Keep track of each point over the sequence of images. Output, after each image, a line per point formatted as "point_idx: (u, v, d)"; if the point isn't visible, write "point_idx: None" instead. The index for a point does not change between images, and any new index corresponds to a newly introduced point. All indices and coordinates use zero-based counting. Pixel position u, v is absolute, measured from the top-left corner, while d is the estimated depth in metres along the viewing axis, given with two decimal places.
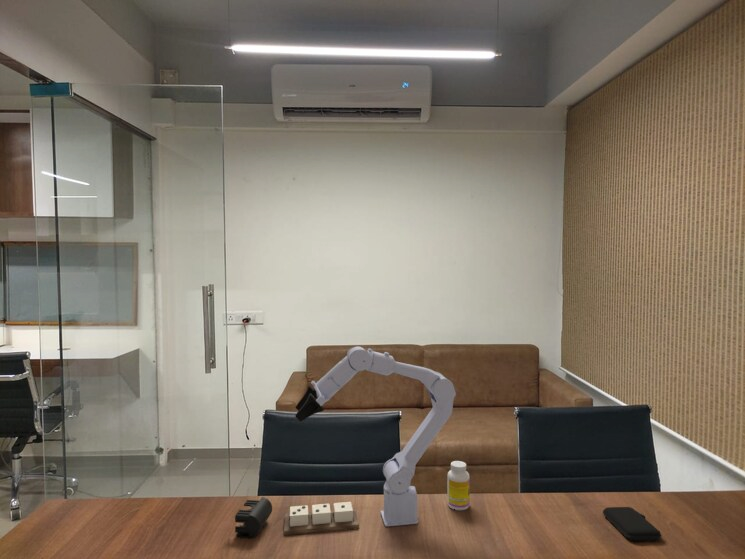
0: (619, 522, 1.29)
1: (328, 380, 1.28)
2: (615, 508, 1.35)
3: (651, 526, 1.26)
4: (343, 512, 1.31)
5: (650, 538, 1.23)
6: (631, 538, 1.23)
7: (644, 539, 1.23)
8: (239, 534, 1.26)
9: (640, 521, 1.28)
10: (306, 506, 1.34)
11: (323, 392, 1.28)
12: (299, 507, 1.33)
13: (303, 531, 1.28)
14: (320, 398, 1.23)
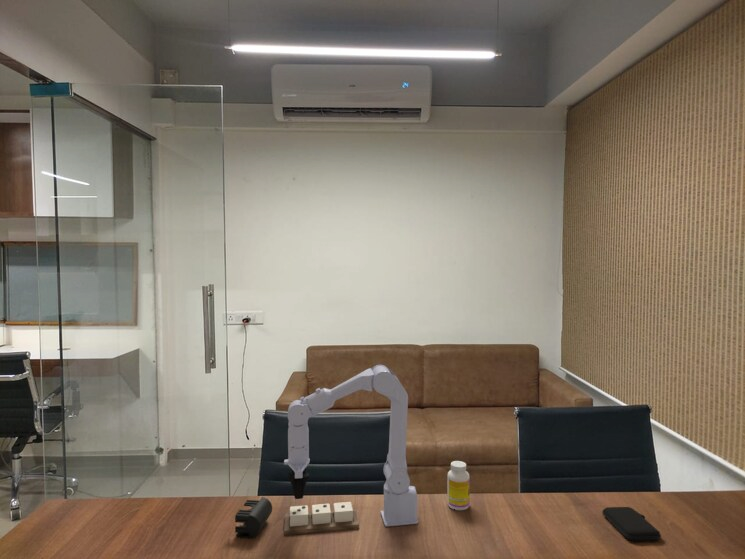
0: (618, 522, 1.29)
1: (292, 451, 1.29)
2: (615, 508, 1.35)
3: (650, 526, 1.26)
4: (343, 512, 1.31)
5: (649, 538, 1.23)
6: (630, 538, 1.23)
7: (643, 539, 1.23)
8: (239, 534, 1.26)
9: (639, 522, 1.28)
10: (306, 506, 1.34)
11: (297, 463, 1.28)
12: (299, 507, 1.33)
13: (303, 531, 1.28)
14: (296, 473, 1.24)
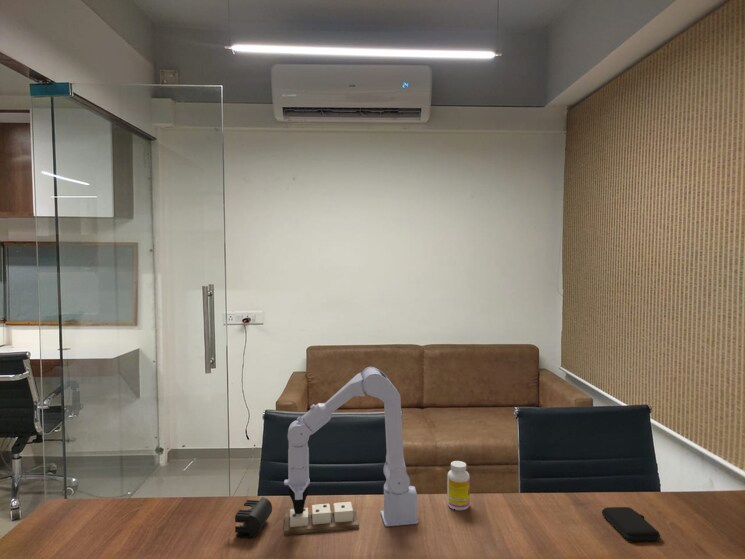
0: (618, 522, 1.29)
1: (292, 472, 1.29)
2: (614, 508, 1.35)
3: (650, 526, 1.26)
4: (343, 512, 1.31)
5: (649, 538, 1.23)
6: (630, 538, 1.23)
7: (643, 539, 1.23)
8: (239, 534, 1.26)
9: (638, 522, 1.28)
10: (306, 508, 1.34)
11: (297, 483, 1.29)
12: None
13: (303, 531, 1.28)
14: (296, 495, 1.24)
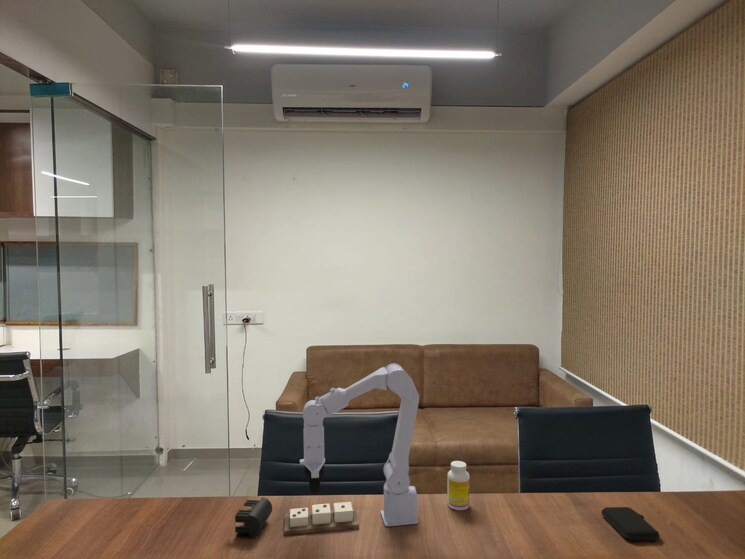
0: (617, 522, 1.29)
1: (308, 451, 1.29)
2: (614, 508, 1.35)
3: (649, 526, 1.26)
4: (343, 512, 1.31)
5: (648, 538, 1.23)
6: (629, 538, 1.23)
7: (642, 539, 1.23)
8: (239, 534, 1.26)
9: (638, 522, 1.28)
10: (306, 508, 1.34)
11: (313, 462, 1.29)
12: (299, 509, 1.33)
13: (303, 531, 1.28)
14: (312, 473, 1.25)
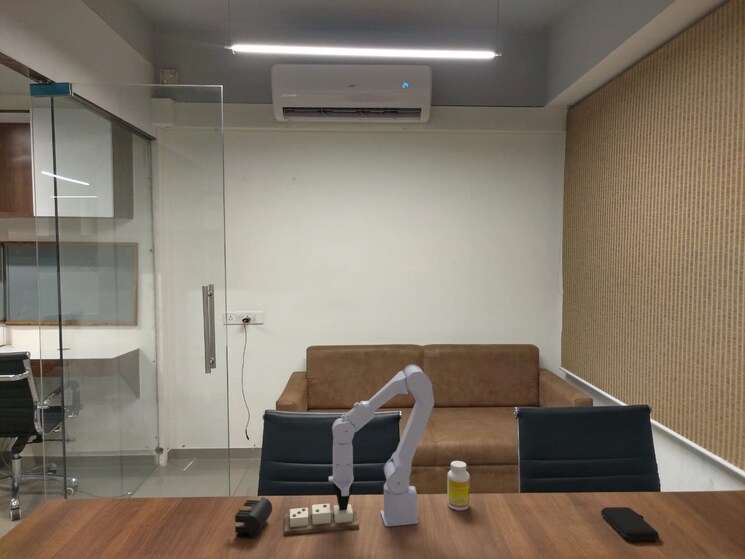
0: (616, 522, 1.29)
1: (337, 468, 1.31)
2: (613, 508, 1.35)
3: (649, 526, 1.26)
4: (343, 514, 1.31)
5: (647, 538, 1.23)
6: (628, 538, 1.23)
7: (641, 539, 1.23)
8: (239, 534, 1.26)
9: (637, 522, 1.28)
10: (306, 508, 1.34)
11: (342, 480, 1.30)
12: (299, 509, 1.33)
13: (303, 531, 1.28)
14: (342, 491, 1.26)
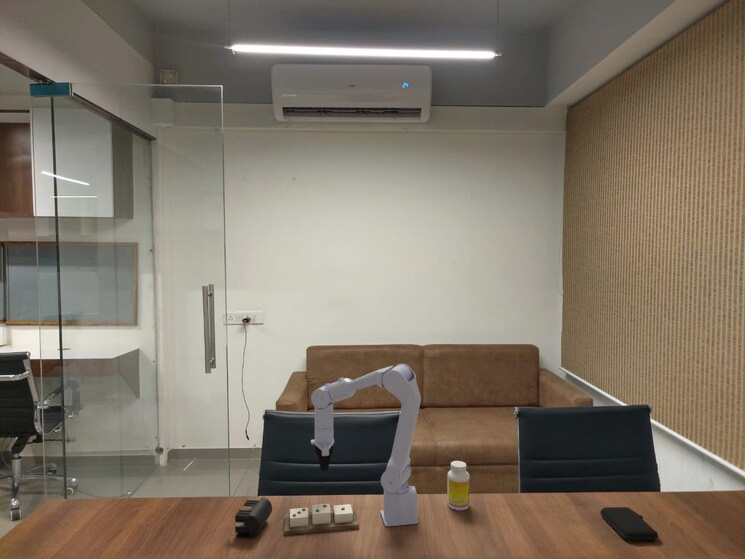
0: (616, 522, 1.28)
1: (319, 431, 1.41)
2: (613, 508, 1.35)
3: (648, 526, 1.26)
4: (343, 514, 1.31)
5: (647, 538, 1.23)
6: (627, 538, 1.23)
7: (640, 539, 1.23)
8: (239, 534, 1.26)
9: (637, 522, 1.28)
10: (306, 508, 1.34)
11: (323, 442, 1.40)
12: (299, 509, 1.33)
13: (303, 531, 1.28)
14: (323, 451, 1.36)
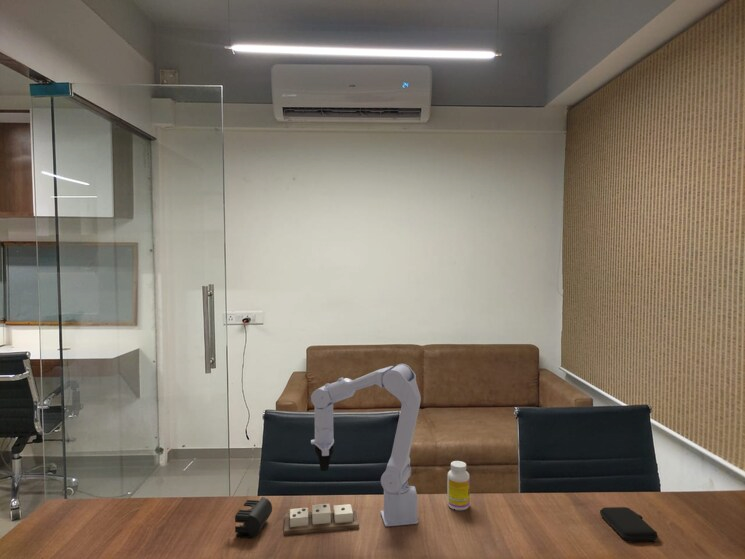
0: (615, 522, 1.28)
1: (319, 431, 1.41)
2: (612, 508, 1.35)
3: (648, 526, 1.26)
4: (343, 514, 1.31)
5: (646, 538, 1.23)
6: (627, 538, 1.23)
7: (640, 539, 1.23)
8: (239, 534, 1.26)
9: (636, 522, 1.28)
10: (306, 508, 1.34)
11: (323, 442, 1.40)
12: (299, 509, 1.33)
13: (303, 531, 1.28)
14: (323, 451, 1.36)
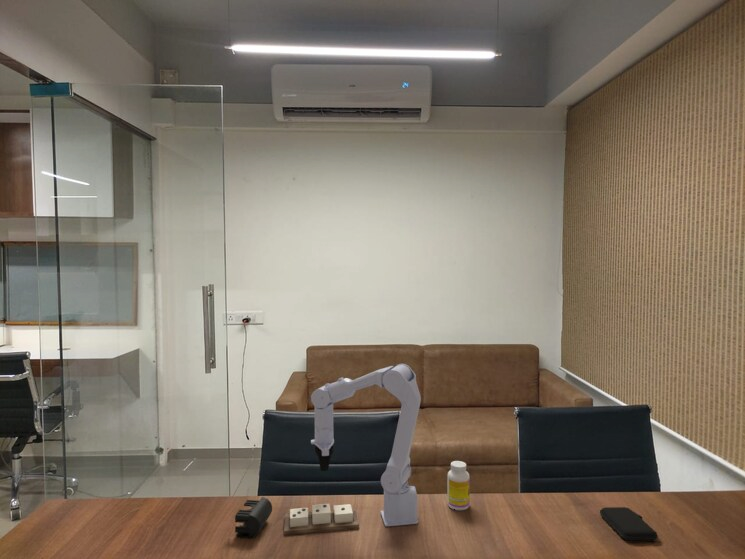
0: (615, 522, 1.28)
1: (319, 431, 1.41)
2: (612, 508, 1.35)
3: (647, 527, 1.26)
4: (343, 514, 1.31)
5: (646, 538, 1.23)
6: (627, 538, 1.23)
7: (640, 539, 1.23)
8: (239, 534, 1.26)
9: (636, 522, 1.28)
10: (306, 508, 1.34)
11: (323, 442, 1.40)
12: (299, 509, 1.33)
13: (303, 531, 1.28)
14: (323, 451, 1.36)
